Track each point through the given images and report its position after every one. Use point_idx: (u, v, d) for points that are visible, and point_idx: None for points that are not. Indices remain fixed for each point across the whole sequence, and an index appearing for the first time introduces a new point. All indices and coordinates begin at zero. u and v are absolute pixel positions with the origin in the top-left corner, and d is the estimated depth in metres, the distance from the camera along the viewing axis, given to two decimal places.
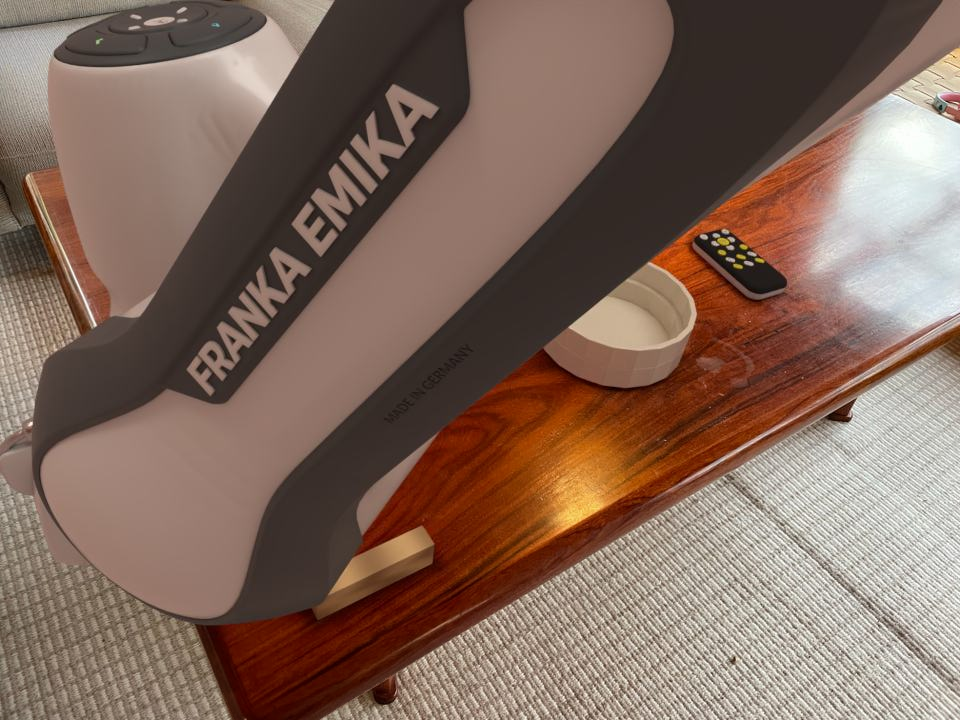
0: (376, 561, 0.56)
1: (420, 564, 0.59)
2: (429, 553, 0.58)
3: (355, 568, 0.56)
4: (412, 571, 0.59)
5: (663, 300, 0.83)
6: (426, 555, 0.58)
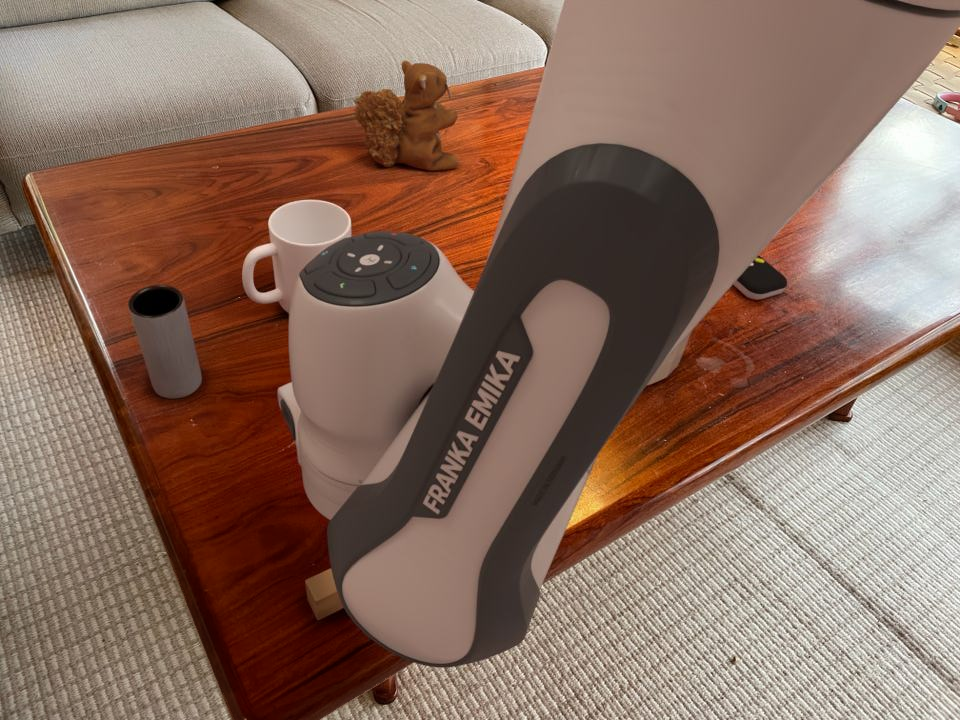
0: None
1: None
2: None
3: None
4: None
5: None
6: None
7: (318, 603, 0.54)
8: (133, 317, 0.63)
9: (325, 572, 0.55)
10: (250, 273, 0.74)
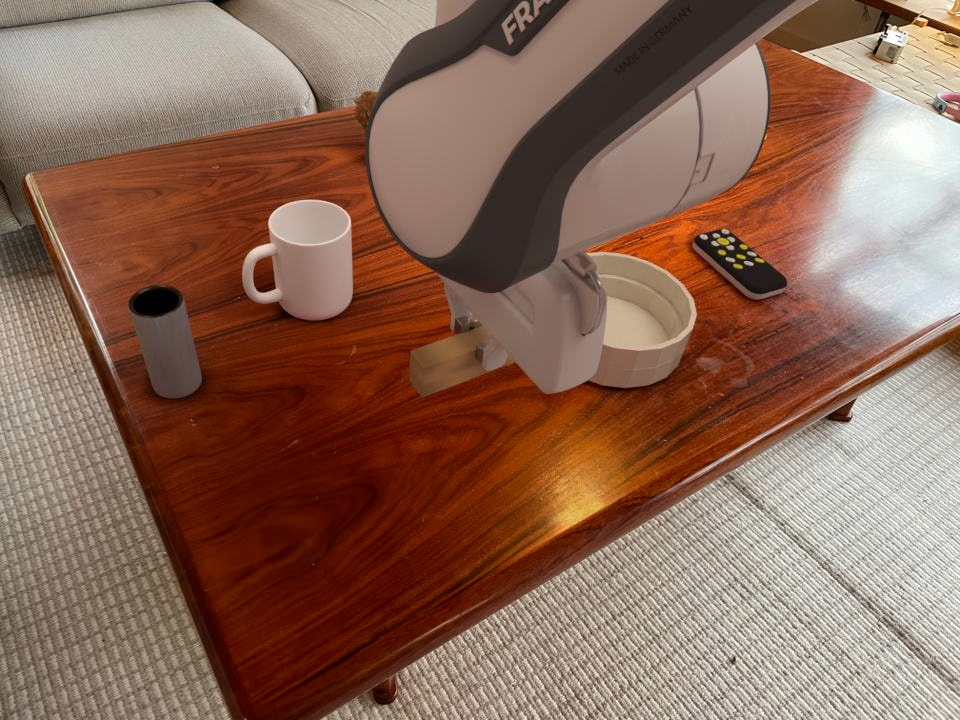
0: (482, 338, 0.53)
1: None
2: None
3: (462, 342, 0.52)
4: None
5: (663, 300, 0.83)
6: None
7: (426, 371, 0.50)
8: (133, 317, 0.63)
9: (431, 344, 0.52)
10: (250, 273, 0.74)
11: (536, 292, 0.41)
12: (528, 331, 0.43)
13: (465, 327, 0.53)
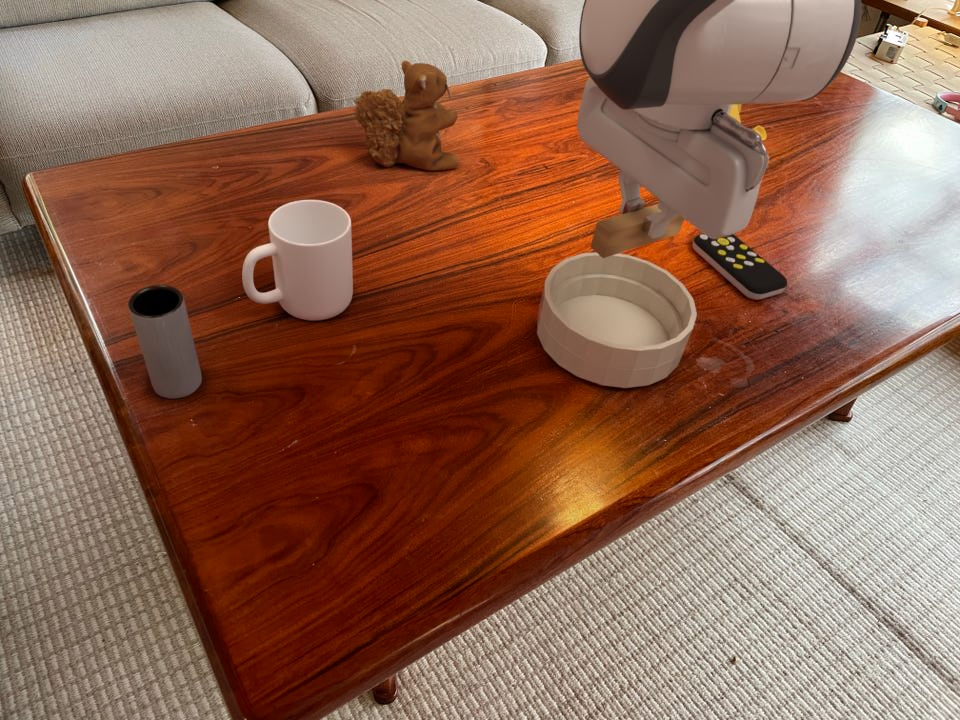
0: (646, 215, 0.71)
1: (672, 230, 0.73)
2: (681, 220, 0.73)
3: (633, 218, 0.70)
4: (666, 235, 0.73)
5: (663, 300, 0.83)
6: (679, 221, 0.73)
7: (610, 235, 0.68)
8: (133, 317, 0.63)
9: (610, 218, 0.70)
10: (250, 273, 0.74)
11: (715, 159, 0.59)
12: (703, 192, 0.61)
13: (633, 207, 0.71)
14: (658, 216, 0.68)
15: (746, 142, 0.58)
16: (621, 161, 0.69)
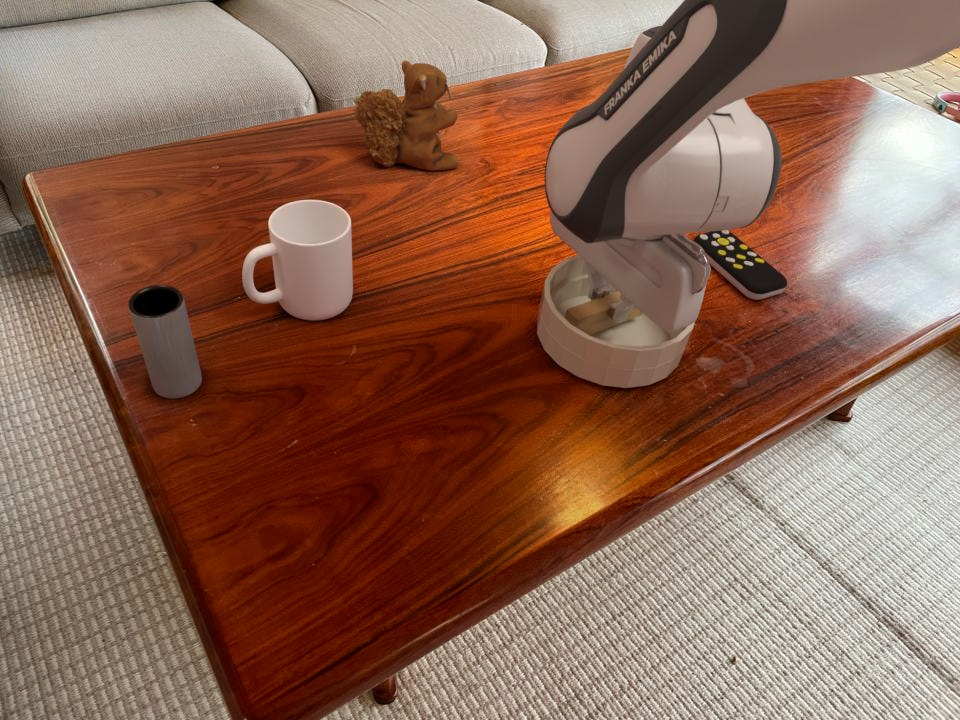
0: (611, 301, 0.79)
1: (636, 312, 0.82)
2: None
3: (599, 304, 0.79)
4: (630, 317, 0.82)
5: None
6: None
7: (578, 322, 0.77)
8: (133, 317, 0.63)
9: (579, 305, 0.78)
10: (250, 273, 0.74)
11: (665, 267, 0.68)
12: (656, 292, 0.70)
13: (600, 295, 0.80)
14: (620, 305, 0.76)
15: (691, 254, 0.66)
16: (587, 256, 0.77)
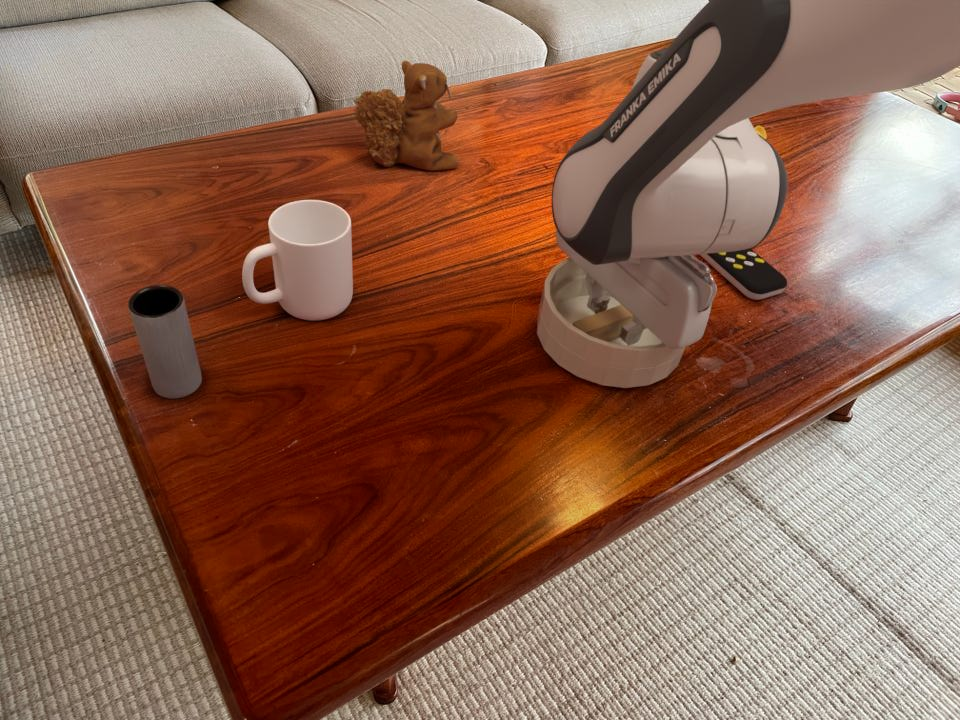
0: (617, 314, 0.80)
1: None
2: None
3: (605, 317, 0.79)
4: None
5: None
6: None
7: None
8: (133, 317, 0.63)
9: (585, 318, 0.79)
10: (250, 273, 0.74)
11: (671, 285, 0.68)
12: (662, 310, 0.70)
13: (599, 304, 0.81)
14: (633, 328, 0.76)
15: (697, 273, 0.67)
16: (593, 272, 0.78)
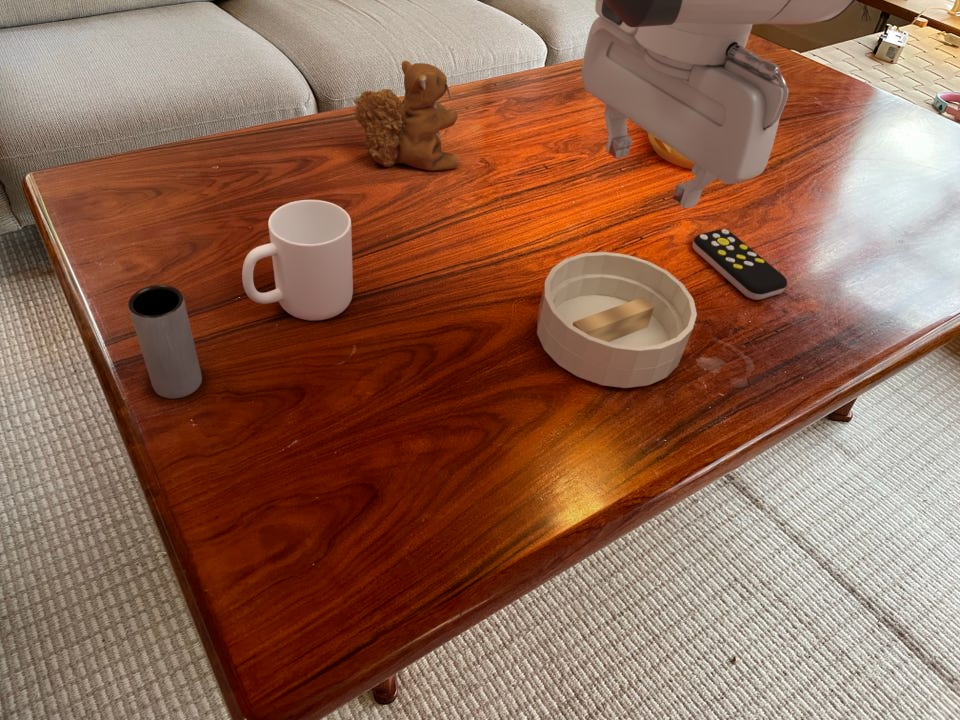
0: (617, 314, 0.80)
1: (642, 324, 0.82)
2: (649, 316, 0.82)
3: (605, 317, 0.79)
4: (636, 329, 0.82)
5: (663, 300, 0.83)
6: (647, 317, 0.82)
7: None
8: (133, 317, 0.63)
9: (585, 318, 0.79)
10: (250, 273, 0.74)
11: (730, 95, 0.55)
12: (717, 133, 0.57)
13: (620, 144, 0.69)
14: (692, 182, 0.62)
15: (764, 75, 0.54)
16: (628, 109, 0.65)
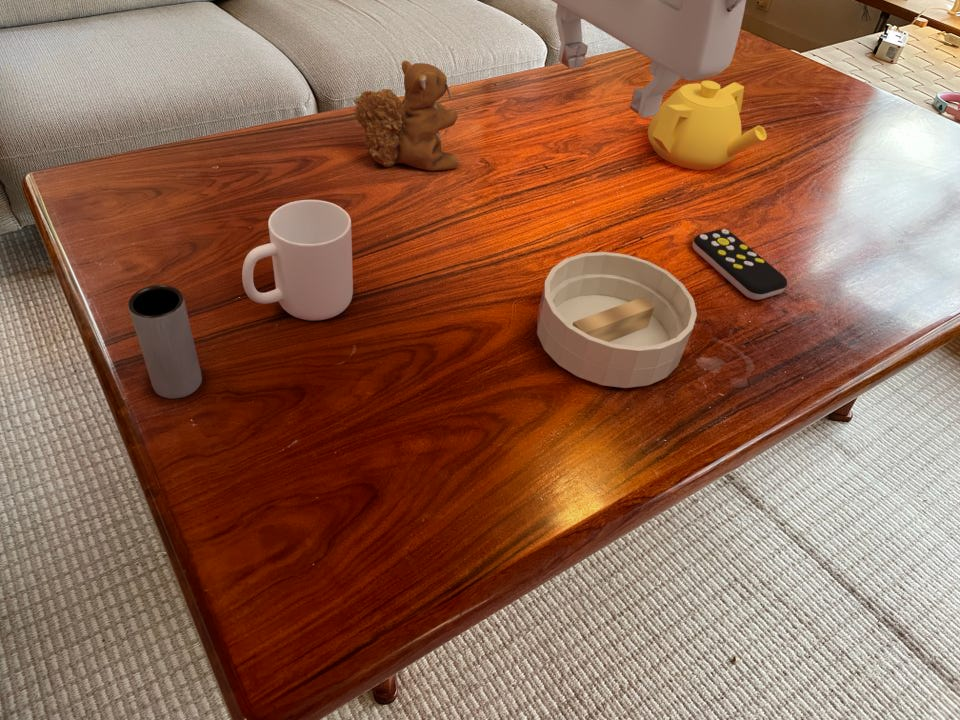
0: (617, 314, 0.80)
1: (642, 324, 0.82)
2: (649, 316, 0.82)
3: (605, 317, 0.79)
4: (636, 329, 0.82)
5: (663, 300, 0.83)
6: (647, 317, 0.82)
7: None
8: (133, 317, 0.63)
9: (585, 318, 0.79)
10: (250, 273, 0.74)
11: None
12: (674, 19, 0.50)
13: (573, 51, 0.61)
14: (650, 84, 0.54)
15: None
16: (579, 4, 0.57)
